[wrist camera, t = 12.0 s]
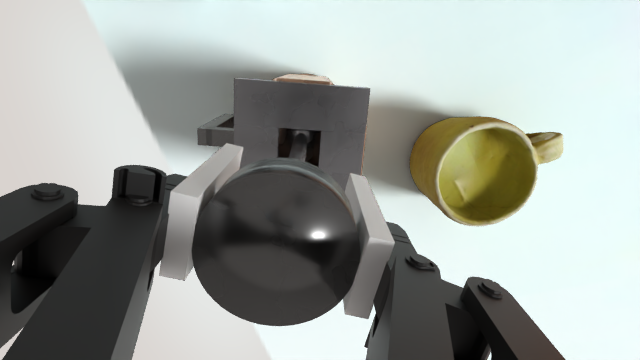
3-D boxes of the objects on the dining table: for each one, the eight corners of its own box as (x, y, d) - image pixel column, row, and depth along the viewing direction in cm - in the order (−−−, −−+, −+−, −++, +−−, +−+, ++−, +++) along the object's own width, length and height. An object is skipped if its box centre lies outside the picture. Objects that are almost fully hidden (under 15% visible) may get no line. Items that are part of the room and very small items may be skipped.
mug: (405, 227, 38) (455, 239, 28) (388, 131, 38) (432, 109, 28) (509, 206, 40) (589, 210, 30) (493, 115, 40) (567, 89, 30)
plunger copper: (271, 89, 27) (189, 133, 10) (349, 109, 28) (404, 186, 10) (255, 165, 29) (162, 318, 11) (328, 182, 29) (346, 354, 12)
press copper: (231, 160, 38) (190, 207, 25) (232, 68, 35) (185, 69, 23) (346, 168, 38) (360, 218, 26) (354, 77, 35) (375, 84, 23)
